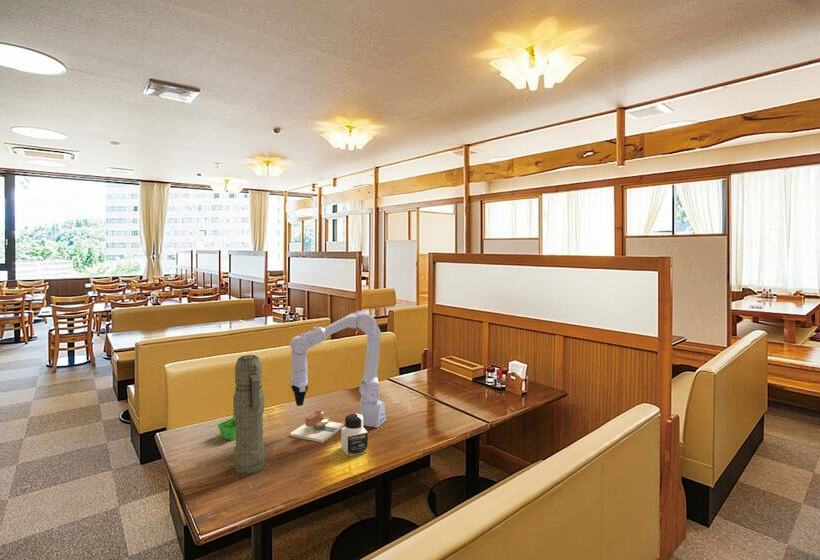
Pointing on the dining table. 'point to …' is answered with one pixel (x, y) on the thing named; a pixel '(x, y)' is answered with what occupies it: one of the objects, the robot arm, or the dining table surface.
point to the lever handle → (316, 419)
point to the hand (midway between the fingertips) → (299, 405)
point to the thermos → (248, 416)
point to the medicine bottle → (354, 435)
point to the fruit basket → (228, 429)
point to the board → (317, 431)
